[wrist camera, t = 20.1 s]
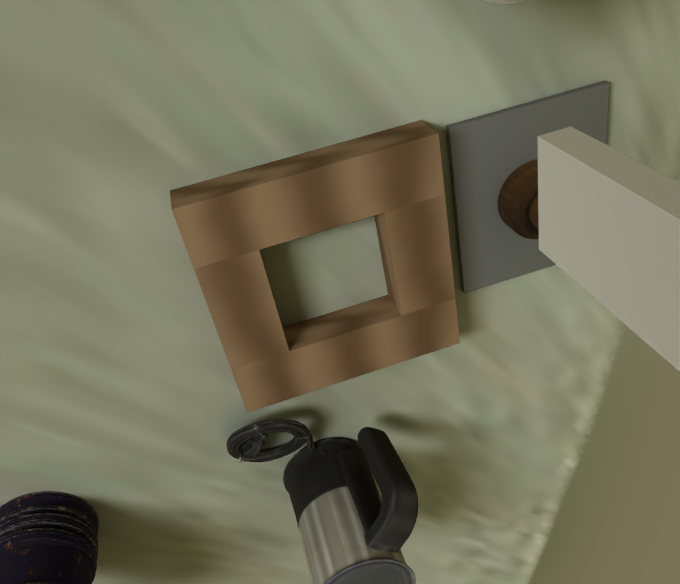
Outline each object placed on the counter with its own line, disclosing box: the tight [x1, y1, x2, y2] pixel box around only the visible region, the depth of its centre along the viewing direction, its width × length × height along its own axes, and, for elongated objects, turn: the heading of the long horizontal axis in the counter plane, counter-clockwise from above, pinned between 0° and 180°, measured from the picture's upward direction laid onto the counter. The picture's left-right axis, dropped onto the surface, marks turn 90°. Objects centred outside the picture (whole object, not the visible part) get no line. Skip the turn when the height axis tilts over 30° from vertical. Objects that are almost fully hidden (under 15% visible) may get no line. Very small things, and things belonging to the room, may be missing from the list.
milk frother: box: [227, 419, 418, 584], centre depth 58 cm, size 14×16×15 cm
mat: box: [446, 81, 610, 293], centre depth 55 cm, size 14×16×1 cm
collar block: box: [170, 120, 460, 412], centre depth 52 cm, size 20×20×4 cm
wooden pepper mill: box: [498, 159, 539, 239], centre depth 48 cm, size 7×6×18 cm
